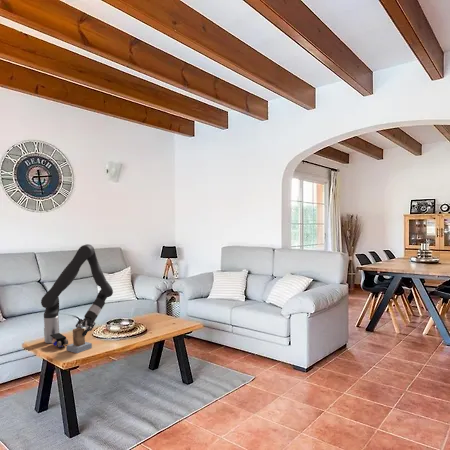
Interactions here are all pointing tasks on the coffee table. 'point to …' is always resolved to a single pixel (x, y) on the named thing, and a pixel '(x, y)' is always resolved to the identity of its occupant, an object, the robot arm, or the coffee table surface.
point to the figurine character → (59, 340)
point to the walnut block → (78, 337)
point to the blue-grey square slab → (78, 347)
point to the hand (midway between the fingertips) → (79, 334)
